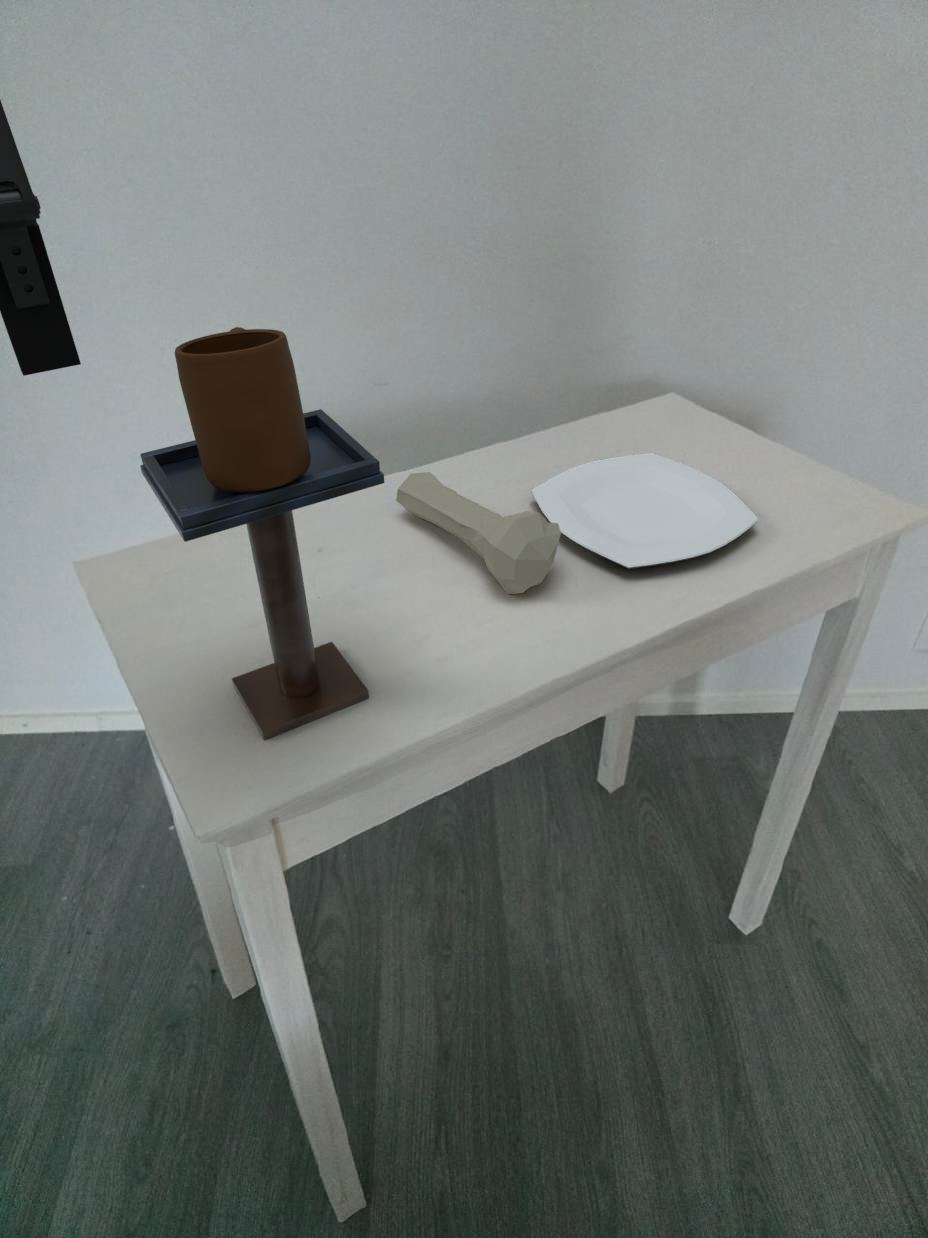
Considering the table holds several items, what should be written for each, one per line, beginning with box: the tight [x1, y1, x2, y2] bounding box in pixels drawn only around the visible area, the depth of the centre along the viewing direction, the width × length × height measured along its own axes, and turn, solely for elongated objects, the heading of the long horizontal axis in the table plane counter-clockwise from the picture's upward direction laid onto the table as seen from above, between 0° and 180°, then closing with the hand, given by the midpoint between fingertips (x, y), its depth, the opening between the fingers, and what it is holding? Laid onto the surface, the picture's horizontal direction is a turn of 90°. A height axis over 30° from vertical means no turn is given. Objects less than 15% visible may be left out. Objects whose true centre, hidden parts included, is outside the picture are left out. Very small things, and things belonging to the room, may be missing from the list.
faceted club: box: [396, 471, 562, 595], centre depth 92 cm, size 9×8×25 cm
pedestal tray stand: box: [140, 408, 385, 741], centre depth 69 cm, size 15×11×24 cm
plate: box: [530, 452, 760, 570], centre depth 98 cm, size 23×23×2 cm
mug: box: [174, 326, 311, 492], centre depth 59 cm, size 12×8×9 cm, turn 11°
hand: (28, 327), depth 46 cm, fingers open, 13 cm apart
